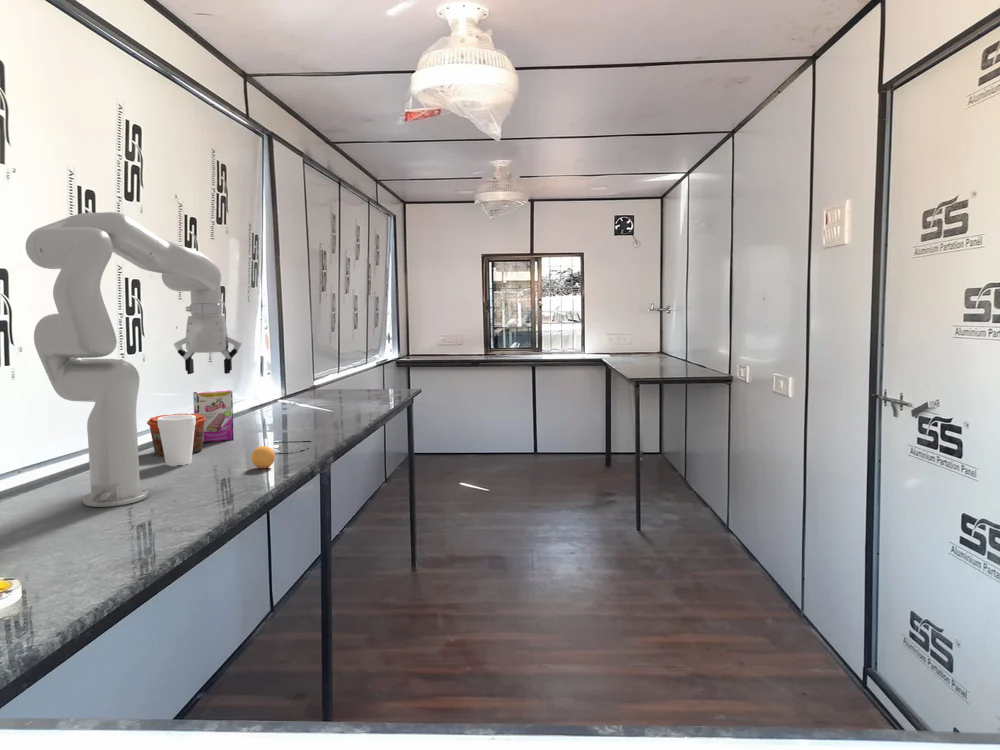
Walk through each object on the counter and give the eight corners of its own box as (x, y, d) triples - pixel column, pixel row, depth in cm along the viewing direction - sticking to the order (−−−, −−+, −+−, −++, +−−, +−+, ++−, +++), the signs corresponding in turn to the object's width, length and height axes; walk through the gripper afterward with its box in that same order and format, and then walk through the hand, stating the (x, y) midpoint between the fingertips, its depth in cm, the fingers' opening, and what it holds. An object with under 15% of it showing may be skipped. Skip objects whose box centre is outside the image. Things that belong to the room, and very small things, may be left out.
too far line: (311, 441, 216) (311, 441, 216) (273, 442, 215) (273, 441, 215) (312, 440, 218) (312, 440, 218) (275, 441, 217) (275, 440, 217)
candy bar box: (198, 444, 213) (196, 393, 211) (194, 441, 217) (192, 391, 215) (234, 439, 220) (232, 390, 218) (229, 437, 224) (227, 389, 222)
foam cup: (204, 460, 190) (202, 415, 188) (185, 467, 181) (183, 420, 179) (172, 459, 191) (170, 414, 189) (152, 467, 182) (150, 419, 180)
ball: (272, 470, 177) (271, 448, 177) (249, 471, 177) (248, 448, 176) (277, 465, 183) (276, 443, 183) (255, 465, 183) (254, 444, 182)
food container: (179, 459, 191) (177, 422, 190) (136, 455, 196) (134, 419, 195) (219, 448, 206) (217, 414, 205) (178, 445, 211) (176, 411, 210)
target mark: (303, 453, 198) (303, 452, 198) (255, 454, 197) (255, 453, 197) (312, 444, 212) (312, 443, 212) (267, 445, 211) (267, 444, 211)
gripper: (167, 310, 177) (170, 375, 178) (235, 310, 179) (238, 374, 181) (177, 310, 184) (180, 372, 186) (243, 310, 186) (245, 371, 188)
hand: (209, 373), depth 183 cm, fingers open, 9 cm apart
